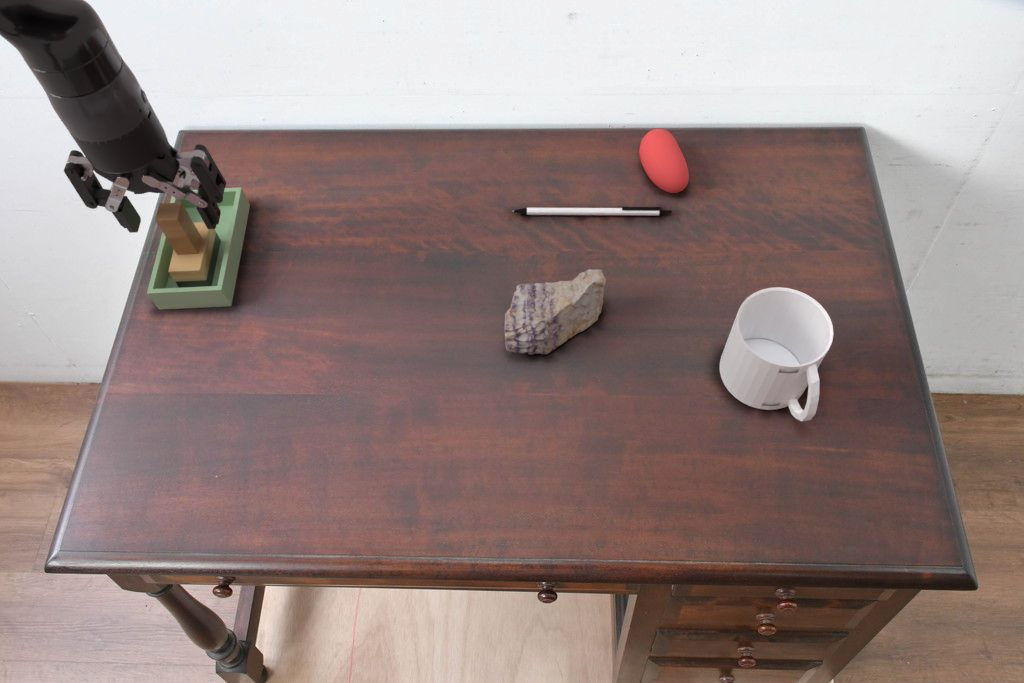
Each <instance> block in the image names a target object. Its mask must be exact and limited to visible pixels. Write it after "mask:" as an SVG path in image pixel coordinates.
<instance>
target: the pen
mask: <svg viewBox="0 0 1024 683" xmlns="http://www.w3.org/2000/svg"><path fill="white" fill-rule="evenodd" d="M512 212H513V213H517V214H520V215H524V216H525V215H526V216H650V217H651V216H657V217H659V216H662V214H672V212H673V210H671V209H662V207H661V206H622V207H524V208H518V209H514V210H512Z"/></svg>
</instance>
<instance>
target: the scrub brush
mask: <svg viewBox="0 0 1024 683" xmlns="http://www.w3.org/2000/svg"><path fill="white" fill-rule="evenodd" d="M154 220H155V223H156V224H157V226H158V227H159V229H160V230H161V233H162V232H163V233H164V235H165V236H166V238H167V239H168V241H169V243H170V244H171V246H172V247H173V249H174V250H173V254H172V259H171V263H170V267H169V271H168V272H169V273H170V275H171V276H172V278H173V279H174V281H175V282H176V284H177V285H178V287H179V288H184V287H205V286H212V282H213V277H214V272H215V267H216V262H217V257H218V252H219V248H220V243H221V240H220V238H219V236H218V234H217V233H216V231H215V229H208V228H207V227H206V225H205V223H204V222H196V223H193V221H192V220H191V218H190V216H189V215H188V213H187V211H186V209H185V208H184V206H183V204H182V203H181V202H180V203H170V202H165V203H164V202H161V203H159V204H158V208H157V212H156V215H155V219H154Z"/></svg>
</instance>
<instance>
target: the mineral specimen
mask: <svg viewBox="0 0 1024 683" xmlns="http://www.w3.org/2000/svg"><path fill="white" fill-rule="evenodd" d="M606 279H607V278H606V277H605V275H604V272H603V270H602V269H599V268H596V269H592V268H589V269H586V271H583V272H579V273H578V275H576V277H575V278H573V279H569V280H559V281H555V282H554V281H553V282H549V281H546V282H542V283H541V282H540V283H539V282H535V283H528V282H526V283H523V284H522V283H521V284H518V285H516V290H515V292H513V296H512V300H511V304H510V307H509V309H508V310H507V311H506V312H505V313H504V324H503V326H504V327H503V330H504V340H505V342H504V344H505V350H506V351H507V352H509V353H519V354H528V355H535V354H541V355H548V354H550V353H551V352H552V351H554V350H556V349H557V348H558V347H559V346H561V345H564V343H566V342H567V341H568V340H569V339H572V338H574V336H576V335H577V334H579V333H581V332H584V331H585V330H587V329H588V328H590V327H591V326H592V325H594V324H595V323H596V322H597V321H598V320H599V316H600V315H601V314H602V310H603V304H604V297H605V287H606V285H607V281H606Z"/></svg>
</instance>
